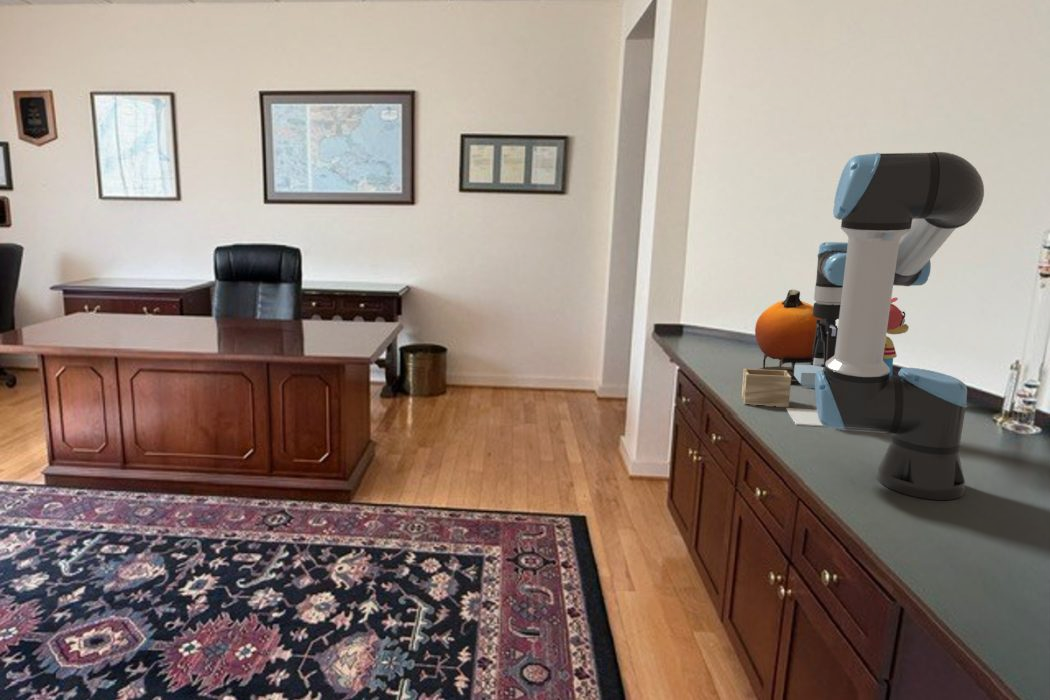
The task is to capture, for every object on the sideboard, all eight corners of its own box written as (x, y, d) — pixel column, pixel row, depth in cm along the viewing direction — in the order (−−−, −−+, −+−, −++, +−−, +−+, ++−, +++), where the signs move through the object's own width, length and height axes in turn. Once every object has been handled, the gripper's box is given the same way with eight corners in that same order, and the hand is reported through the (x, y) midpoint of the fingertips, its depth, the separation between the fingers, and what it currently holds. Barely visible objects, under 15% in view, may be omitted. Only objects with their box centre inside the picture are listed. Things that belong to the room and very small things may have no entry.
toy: (909, 403, 185) (922, 300, 179) (871, 401, 187) (883, 299, 181) (891, 390, 199) (903, 294, 193) (856, 388, 201) (867, 293, 195)
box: (788, 407, 182) (791, 376, 180) (744, 404, 184) (746, 374, 182) (783, 399, 189) (786, 370, 187) (741, 397, 191) (743, 368, 189)
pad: (854, 428, 163) (854, 427, 163) (796, 424, 166) (796, 423, 166) (839, 412, 177) (839, 411, 177) (786, 409, 180) (786, 408, 180)
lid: (852, 391, 164) (853, 374, 163) (799, 389, 167) (801, 372, 166) (842, 382, 173) (844, 366, 172) (793, 380, 175) (794, 364, 174)
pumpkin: (778, 366, 231) (785, 283, 224) (837, 379, 212) (846, 289, 206) (738, 374, 219) (744, 287, 213) (797, 389, 200) (805, 294, 194)
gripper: (857, 309, 154) (847, 398, 159) (834, 297, 175) (826, 376, 179) (824, 308, 155) (815, 396, 160) (805, 296, 176) (798, 375, 181)
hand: (821, 386), depth 170 cm, fingers closed on lid, 9 cm apart
